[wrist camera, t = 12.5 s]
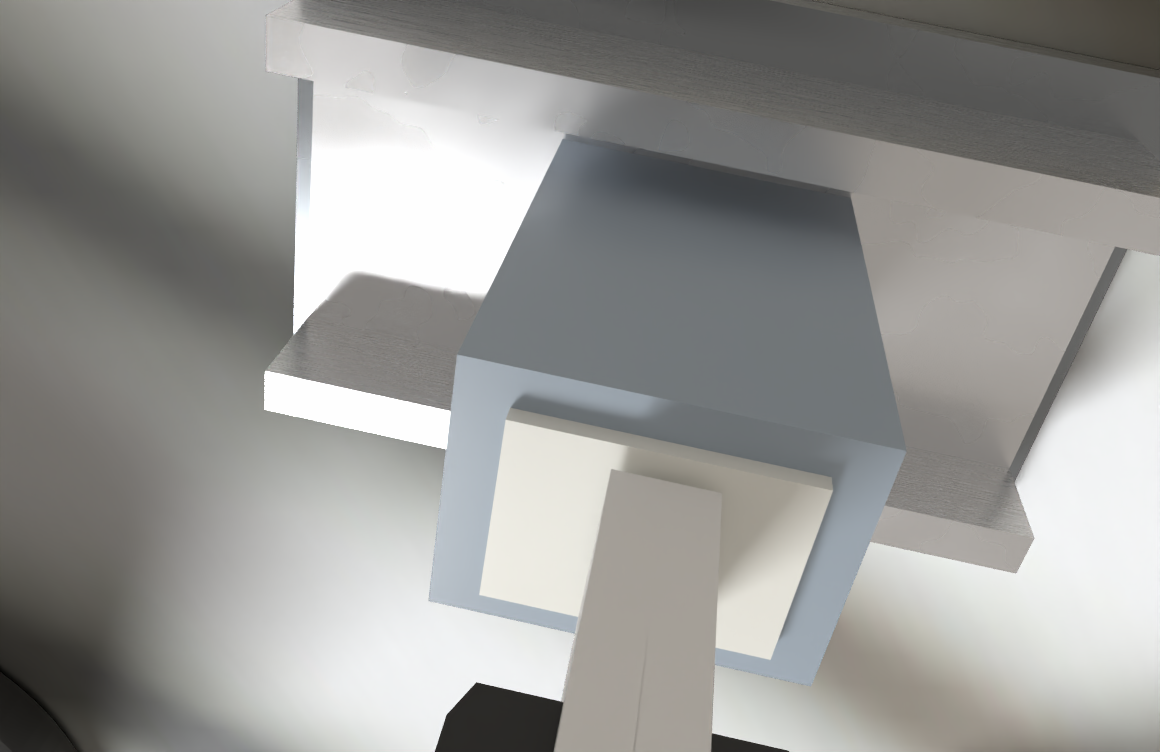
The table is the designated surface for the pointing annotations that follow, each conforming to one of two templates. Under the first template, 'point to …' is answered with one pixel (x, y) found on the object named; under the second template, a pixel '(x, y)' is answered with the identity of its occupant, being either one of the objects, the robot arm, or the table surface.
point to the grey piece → (736, 146)
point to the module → (673, 398)
